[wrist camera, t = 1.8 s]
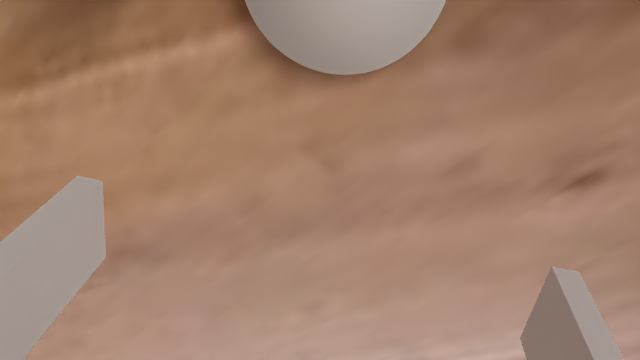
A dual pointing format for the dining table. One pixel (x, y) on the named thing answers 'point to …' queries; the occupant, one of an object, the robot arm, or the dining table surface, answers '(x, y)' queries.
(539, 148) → the dining table surface
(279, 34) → the white dome
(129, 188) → the dining table surface
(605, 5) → the dining table surface
